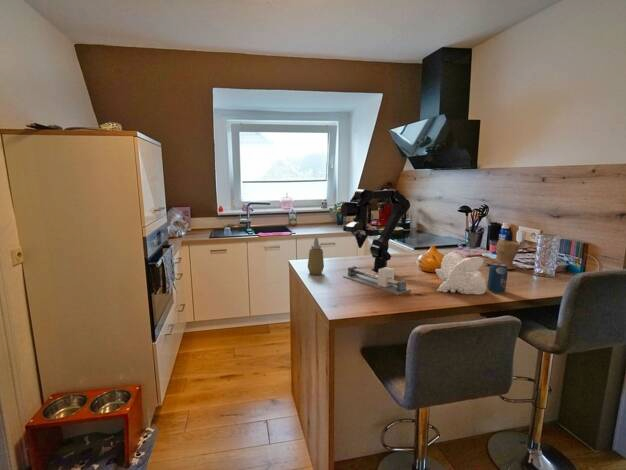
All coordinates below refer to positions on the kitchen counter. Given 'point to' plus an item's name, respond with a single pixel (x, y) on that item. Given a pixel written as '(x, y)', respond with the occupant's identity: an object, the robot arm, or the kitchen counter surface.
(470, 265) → the white sculpture
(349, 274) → the rail
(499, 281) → the soda can
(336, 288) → the kitchen counter surface
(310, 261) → the squeeze bottle
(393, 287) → the base board
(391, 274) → the collar
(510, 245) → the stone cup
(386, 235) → the robot arm
